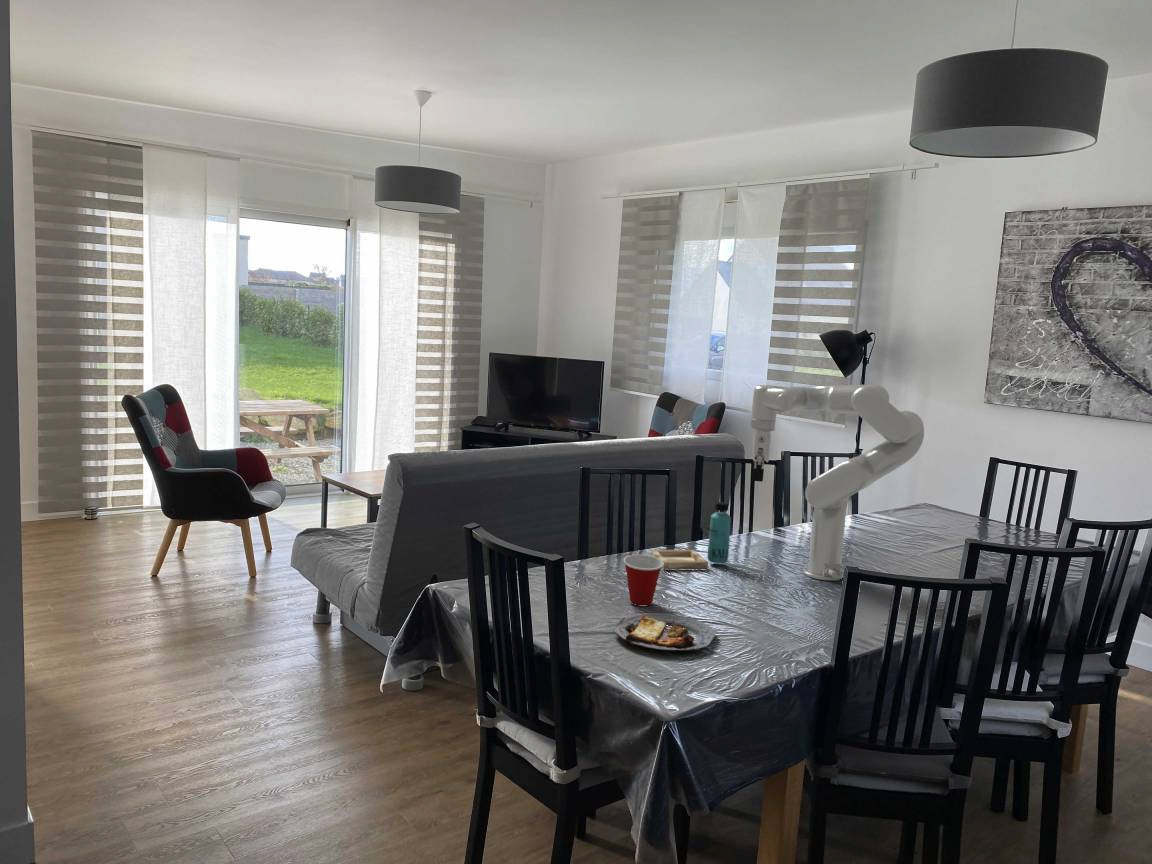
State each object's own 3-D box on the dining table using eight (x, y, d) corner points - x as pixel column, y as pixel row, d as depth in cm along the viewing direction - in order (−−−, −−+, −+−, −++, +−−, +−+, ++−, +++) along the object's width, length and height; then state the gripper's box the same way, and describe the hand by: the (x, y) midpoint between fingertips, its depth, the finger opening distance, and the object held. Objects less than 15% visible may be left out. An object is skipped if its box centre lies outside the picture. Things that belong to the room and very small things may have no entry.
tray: (707, 570, 273) (708, 562, 272) (663, 570, 270) (664, 562, 270) (692, 557, 286) (693, 549, 286) (651, 557, 284) (651, 550, 283)
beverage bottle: (713, 560, 283) (717, 499, 280) (732, 565, 279) (736, 502, 276) (702, 564, 278) (706, 502, 275) (721, 569, 274) (725, 505, 271)
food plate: (699, 664, 199) (700, 649, 198) (601, 647, 207) (602, 632, 207) (723, 632, 222) (724, 618, 221) (634, 617, 230) (635, 604, 230)
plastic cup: (628, 611, 232) (630, 566, 231) (615, 597, 243) (618, 555, 241) (667, 609, 235) (670, 565, 234) (653, 596, 246) (655, 553, 244)
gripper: (775, 429, 271) (769, 484, 273) (774, 422, 287) (769, 474, 290) (750, 427, 272) (745, 482, 275) (750, 420, 289) (745, 472, 291)
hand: (757, 478), depth 282 cm, fingers open, 9 cm apart
